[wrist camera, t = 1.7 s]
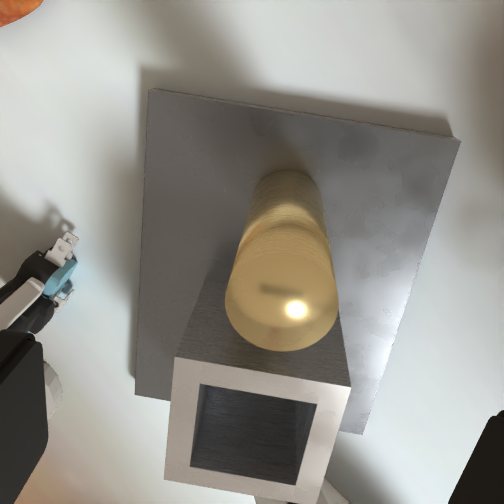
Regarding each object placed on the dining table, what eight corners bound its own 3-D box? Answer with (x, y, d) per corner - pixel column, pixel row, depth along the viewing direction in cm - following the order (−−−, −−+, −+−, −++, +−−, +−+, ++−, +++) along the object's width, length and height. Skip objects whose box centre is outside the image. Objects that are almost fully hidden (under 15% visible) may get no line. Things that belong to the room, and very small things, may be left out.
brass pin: (329, 176, 23) (350, 264, 14) (314, 242, 24) (325, 359, 15) (257, 165, 23) (232, 244, 14) (247, 230, 24) (219, 341, 15)
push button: (37, 205, 26) (-103, 292, 17) (118, 257, 27) (28, 365, 18) (-5, 287, 28) (-145, 401, 19) (71, 331, 29) (-29, 460, 20)
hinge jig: (454, 137, 22) (529, 180, 15) (360, 423, 30) (380, 541, 23) (154, 88, 23) (87, 108, 15) (139, 384, 31) (90, 489, 23)
